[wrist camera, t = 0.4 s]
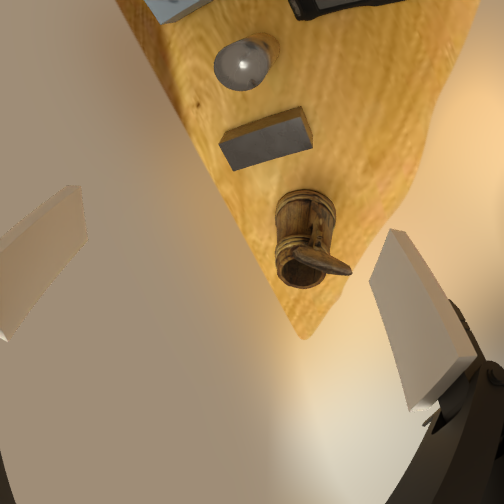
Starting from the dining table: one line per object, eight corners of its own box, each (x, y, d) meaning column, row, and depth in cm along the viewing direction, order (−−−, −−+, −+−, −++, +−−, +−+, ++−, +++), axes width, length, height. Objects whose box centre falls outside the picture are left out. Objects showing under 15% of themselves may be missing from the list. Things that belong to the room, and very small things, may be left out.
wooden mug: (359, 175, 37) (379, 284, 25) (322, 244, 47) (319, 348, 35) (296, 153, 36) (285, 256, 24) (268, 227, 46) (248, 331, 34)
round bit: (269, 27, 25) (251, 34, 17) (286, 57, 28) (275, 79, 20) (237, 41, 27) (204, 57, 19) (253, 70, 29) (229, 98, 21)
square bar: (301, 105, 32) (300, 116, 29) (312, 134, 34) (312, 148, 32) (226, 130, 36) (218, 144, 33) (239, 156, 38) (233, 171, 36)
